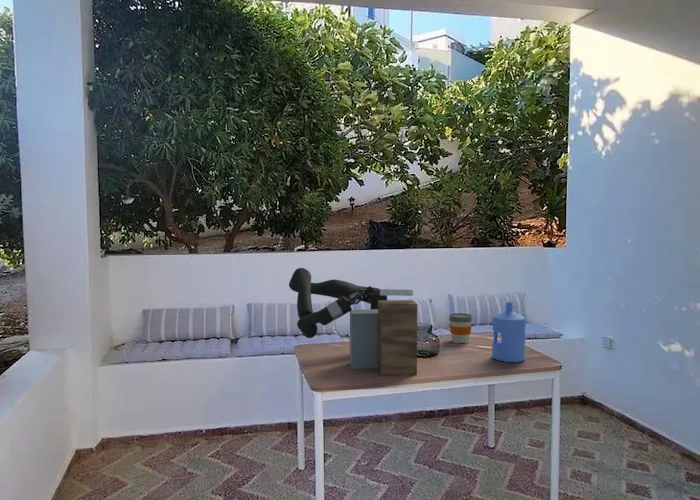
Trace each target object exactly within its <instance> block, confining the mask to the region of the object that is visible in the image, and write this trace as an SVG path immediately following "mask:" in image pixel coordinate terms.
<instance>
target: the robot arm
mask: <svg viewBox="0 0 700 500" xmlns="http://www.w3.org/2000/svg"><path fill="white" fill-rule="evenodd" d="M288 282H289V283H288V286H289V288H290V290H291V291H293V292H296V293H297V299H296V300H297V301H296V309H297V315H298V318H299V319H298V321H297V323H296V325H297V328H298V330H300V332H301V333H302V335H303V336H304V337H305V338H307V339H312V338H314V337H315V336H316V335H317V333H318V325H317V324H321V325H322V326H327V325H329V324H330V323H332V322H334V321H335V320H337V319H339V318H341V317H343V316H344V315H346V314H348V313H350V311H351V310H353V309H352V305H354V306H355V305H358V304H359V303H361V302H364V303H366V304H370V309H378V301H383V300H388V295H368V294H370V293H372V292H373V291H374V290H373V289H380V288H379V287H374V286H373V287H372V286H371V285H369V286H361V285H356V284H354V283H352V282H349V281H344V280H340V279H329V280H324V281H322V282H312V274H311V272H310V271H309V270H308V269H306V268H304V267H298V268H295V270H294V272H293V273H292V276H291V278H290V280H289V281H288ZM359 289H367V290H365V292H364V291H363V292H361V293H359ZM312 295H317V296H325V297H329V298H334V299H336V300H334V301H332V302H331V303H329V304H328V305H326V306H325V307H323V308H321V309H320V310H318V311H314V309H313V303H312Z"/></svg>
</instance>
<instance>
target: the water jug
mask: <svg viewBox="0 0 700 500" xmlns="http://www.w3.org/2000/svg"><path fill="white" fill-rule="evenodd" d="M505 304H506V305H505V310H504V311H501V312H500V313H497V314H495V315H493V316H492V330H493V342H492V349H491V350H492V351H491V357H492V359H494V360H495V359H496V360H495V361H498V360H499V361H498V362H502V361H504V362H503V363H511V362H514V363H521V362H523V361H525V359H526V355H525V354H526V351H525V348H526V317H524V316H523V315H521V314H519V313H517V312H515V311H513V304H514V303H513V302H511V301H506V303H505ZM498 333H500V335H501V336H500V337H501V338H500V339H501V340H498Z"/></svg>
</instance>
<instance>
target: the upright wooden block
mask: <svg viewBox="0 0 700 500" xmlns="http://www.w3.org/2000/svg"><path fill="white" fill-rule="evenodd" d="M377 369H378V373H380V376H381V377H382V376H384V377H387V376H389V377H390V376H410V375H411V376H414V375H418V303H417V302H415V301H414V300H413V299H396V300H394V299H393V300H388V299H387V300H383V301H378V368H377Z"/></svg>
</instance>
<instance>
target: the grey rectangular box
mask: <svg viewBox="0 0 700 500" xmlns="http://www.w3.org/2000/svg"><path fill="white" fill-rule="evenodd" d="M349 364H350V367H351V369H352V370H361V369H362V370H365V369H378V309H371V308H369V309H352V310H351V311H350V312H349Z"/></svg>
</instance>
